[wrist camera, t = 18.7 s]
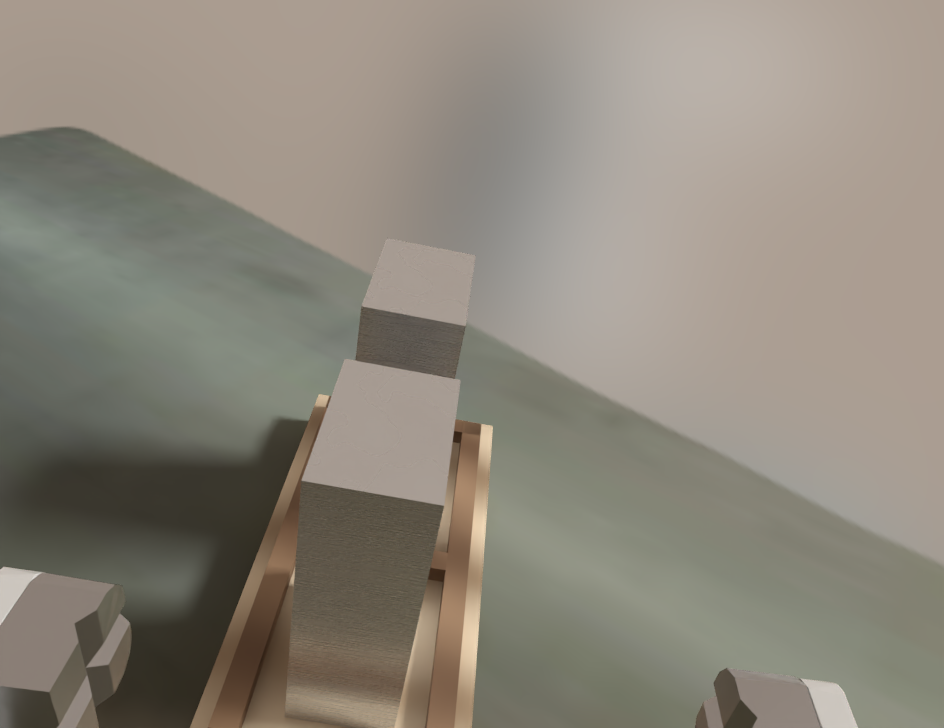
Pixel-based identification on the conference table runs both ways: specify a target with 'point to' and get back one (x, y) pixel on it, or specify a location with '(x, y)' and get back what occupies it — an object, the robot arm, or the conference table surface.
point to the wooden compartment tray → (439, 626)
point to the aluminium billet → (367, 542)
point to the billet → (416, 309)
